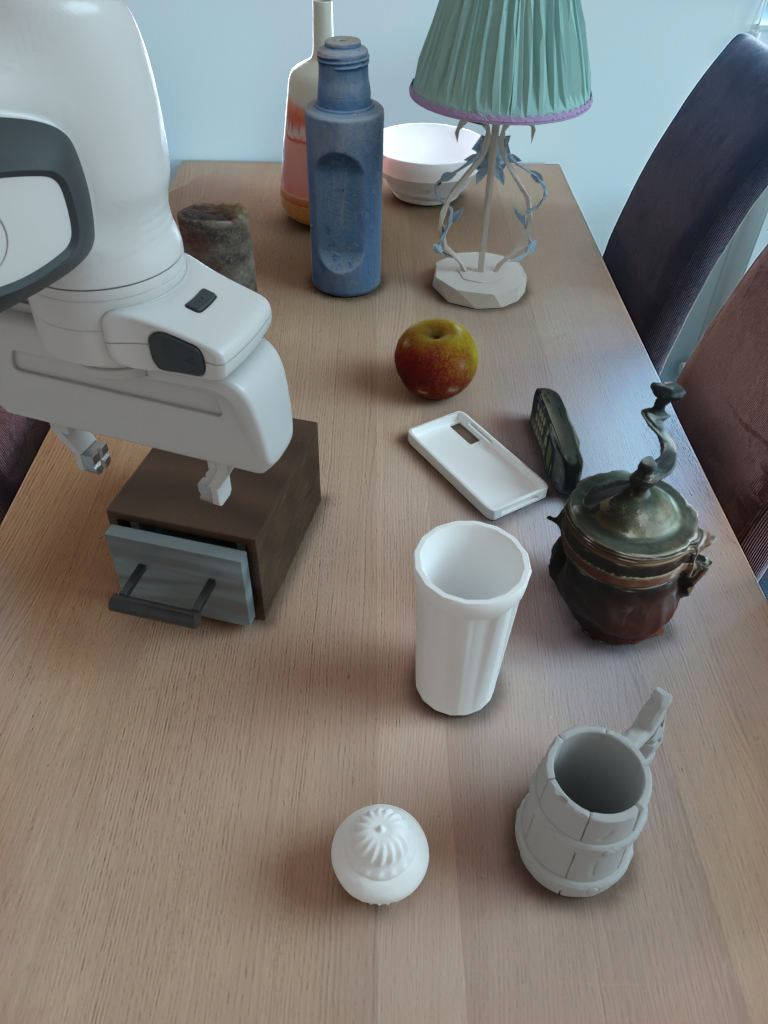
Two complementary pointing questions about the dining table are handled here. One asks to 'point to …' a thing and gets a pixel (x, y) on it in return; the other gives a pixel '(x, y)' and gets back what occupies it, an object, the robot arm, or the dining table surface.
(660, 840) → the dining table surface
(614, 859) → the mug
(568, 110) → the table lamp
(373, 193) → the bottle
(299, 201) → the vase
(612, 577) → the coffee grinder
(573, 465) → the mobile phone
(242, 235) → the dark brown hollow tube
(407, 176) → the bowl
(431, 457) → the phone case
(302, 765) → the dining table surface
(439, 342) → the fruit
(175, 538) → the drawer
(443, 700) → the cup
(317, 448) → the cabinet
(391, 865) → the muffin
